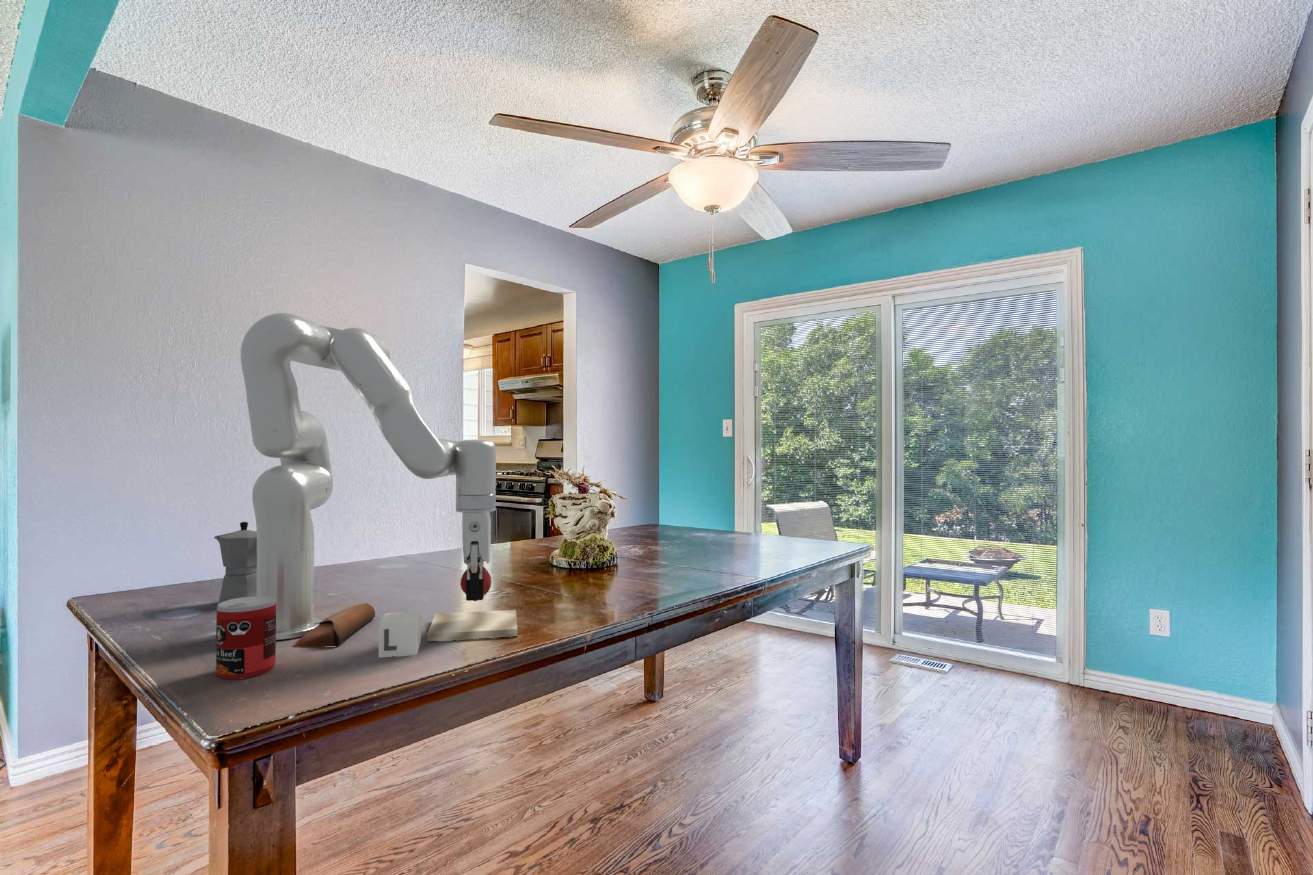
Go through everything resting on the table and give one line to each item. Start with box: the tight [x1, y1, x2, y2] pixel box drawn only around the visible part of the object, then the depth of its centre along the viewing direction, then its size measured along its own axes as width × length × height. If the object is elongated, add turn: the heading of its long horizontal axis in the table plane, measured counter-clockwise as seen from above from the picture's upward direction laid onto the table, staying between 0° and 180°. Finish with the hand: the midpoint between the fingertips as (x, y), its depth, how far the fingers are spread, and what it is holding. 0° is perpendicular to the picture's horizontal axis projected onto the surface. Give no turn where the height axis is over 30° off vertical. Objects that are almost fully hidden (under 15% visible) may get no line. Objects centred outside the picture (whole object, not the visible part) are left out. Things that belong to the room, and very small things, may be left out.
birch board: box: [426, 609, 518, 642], centre depth 127 cm, size 16×14×2 cm
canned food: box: [215, 596, 277, 680], centre depth 103 cm, size 8×8×11 cm
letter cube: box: [378, 611, 422, 658], centre depth 114 cm, size 6×6×6 cm
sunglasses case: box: [292, 602, 376, 648], centre depth 124 cm, size 18×7×7 cm
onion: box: [459, 566, 492, 602], centre depth 127 cm, size 6×6×8 cm
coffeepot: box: [213, 521, 257, 605], centre depth 145 cm, size 15×9×18 cm, turn 87°
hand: (475, 595), depth 127 cm, fingers closed on onion, 5 cm apart
